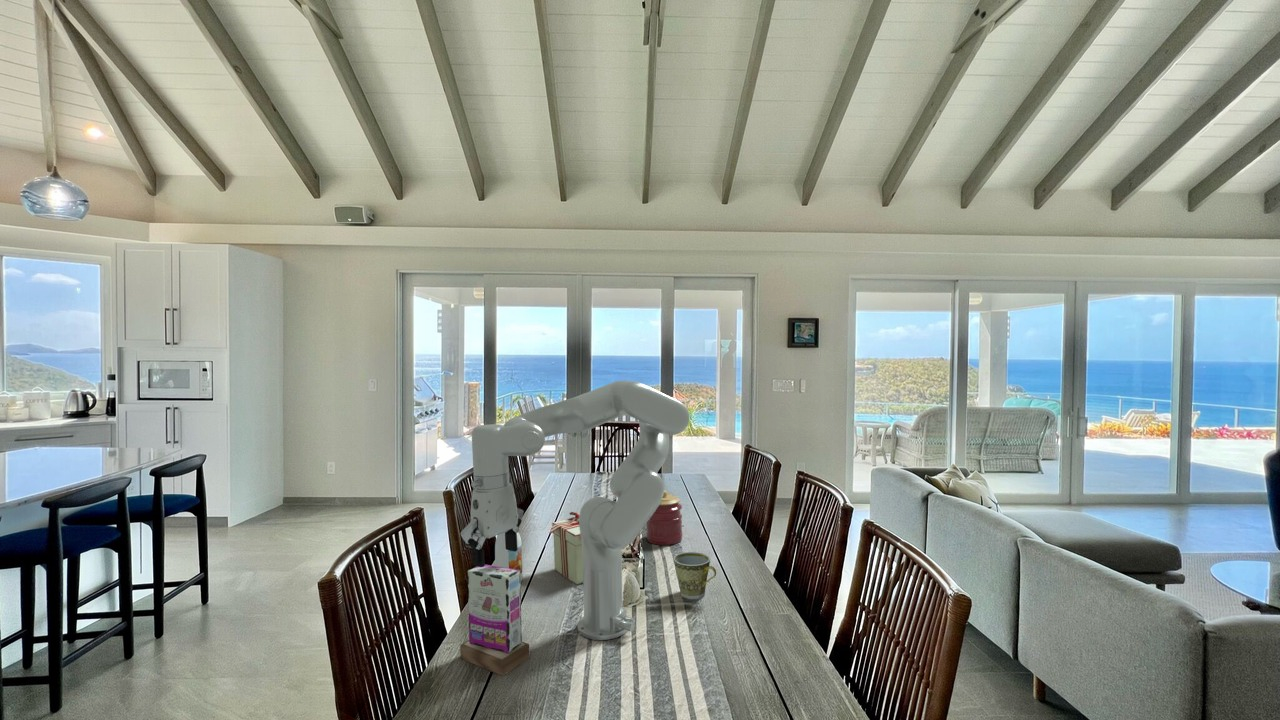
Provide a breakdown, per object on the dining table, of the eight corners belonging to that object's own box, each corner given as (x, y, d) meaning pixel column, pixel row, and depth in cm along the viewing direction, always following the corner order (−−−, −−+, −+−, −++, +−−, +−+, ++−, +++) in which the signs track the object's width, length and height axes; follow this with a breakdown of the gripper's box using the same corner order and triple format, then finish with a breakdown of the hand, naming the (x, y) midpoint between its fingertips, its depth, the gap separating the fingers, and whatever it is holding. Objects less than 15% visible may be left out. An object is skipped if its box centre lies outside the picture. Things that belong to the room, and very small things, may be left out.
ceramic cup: (666, 595, 152) (666, 559, 152) (689, 583, 159) (688, 549, 159) (705, 609, 143) (704, 571, 143) (726, 596, 151) (726, 560, 150)
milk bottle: (499, 589, 158) (497, 519, 157) (493, 579, 164) (491, 513, 164) (525, 583, 161) (524, 515, 161) (518, 574, 168) (517, 509, 168)
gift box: (542, 573, 169) (541, 517, 168) (591, 557, 181) (590, 505, 181) (573, 591, 156) (572, 530, 156) (624, 572, 168) (623, 516, 168)
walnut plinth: (529, 657, 122) (529, 643, 122) (502, 675, 115) (502, 660, 115) (488, 641, 129) (487, 628, 129) (460, 658, 122) (460, 644, 122)
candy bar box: (523, 643, 122) (521, 569, 122) (509, 654, 118) (507, 578, 117) (483, 633, 127) (481, 562, 127) (468, 643, 122) (466, 570, 122)
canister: (659, 531, 206) (658, 484, 206) (689, 537, 198) (688, 488, 198) (638, 541, 195) (638, 491, 195) (669, 548, 188) (668, 496, 188)
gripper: (472, 492, 112) (476, 575, 113) (531, 473, 127) (535, 547, 127) (448, 489, 116) (452, 569, 117) (508, 471, 131) (511, 542, 131)
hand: (495, 557), depth 122 cm, fingers open, 9 cm apart
